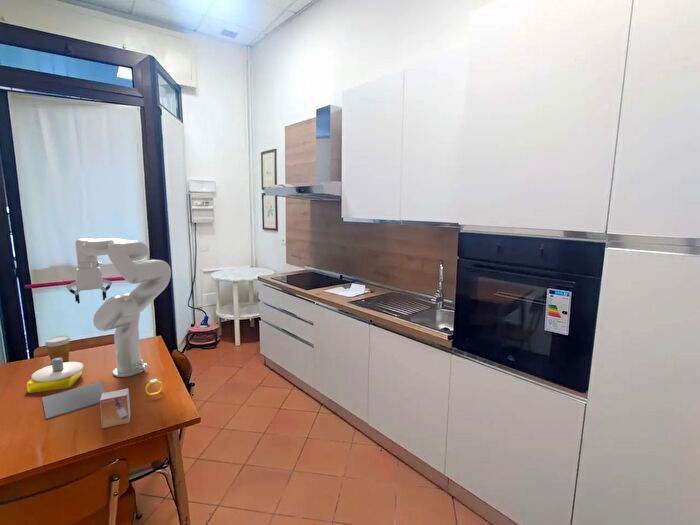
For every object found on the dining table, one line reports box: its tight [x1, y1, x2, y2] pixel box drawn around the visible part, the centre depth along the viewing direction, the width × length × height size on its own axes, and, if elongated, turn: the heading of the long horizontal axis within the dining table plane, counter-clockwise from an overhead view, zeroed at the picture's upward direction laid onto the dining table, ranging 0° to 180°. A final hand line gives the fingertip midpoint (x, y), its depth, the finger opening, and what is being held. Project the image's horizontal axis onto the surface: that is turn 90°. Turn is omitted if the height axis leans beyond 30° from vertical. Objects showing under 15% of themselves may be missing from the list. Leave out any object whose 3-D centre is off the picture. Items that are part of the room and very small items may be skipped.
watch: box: [144, 378, 164, 397], centre depth 142 cm, size 6×3×6 cm, turn 127°
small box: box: [99, 388, 131, 429], centre depth 123 cm, size 8×6×10 cm
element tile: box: [26, 369, 83, 394], centre depth 151 cm, size 15×15×5 cm
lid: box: [31, 358, 84, 382], centre depth 150 cm, size 17×17×6 cm
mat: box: [41, 381, 107, 421], centre depth 137 cm, size 19×19×1 cm
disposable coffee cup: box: [44, 335, 71, 364], centre depth 169 cm, size 10×10×12 cm
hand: (91, 301), depth 166 cm, fingers open, 9 cm apart
